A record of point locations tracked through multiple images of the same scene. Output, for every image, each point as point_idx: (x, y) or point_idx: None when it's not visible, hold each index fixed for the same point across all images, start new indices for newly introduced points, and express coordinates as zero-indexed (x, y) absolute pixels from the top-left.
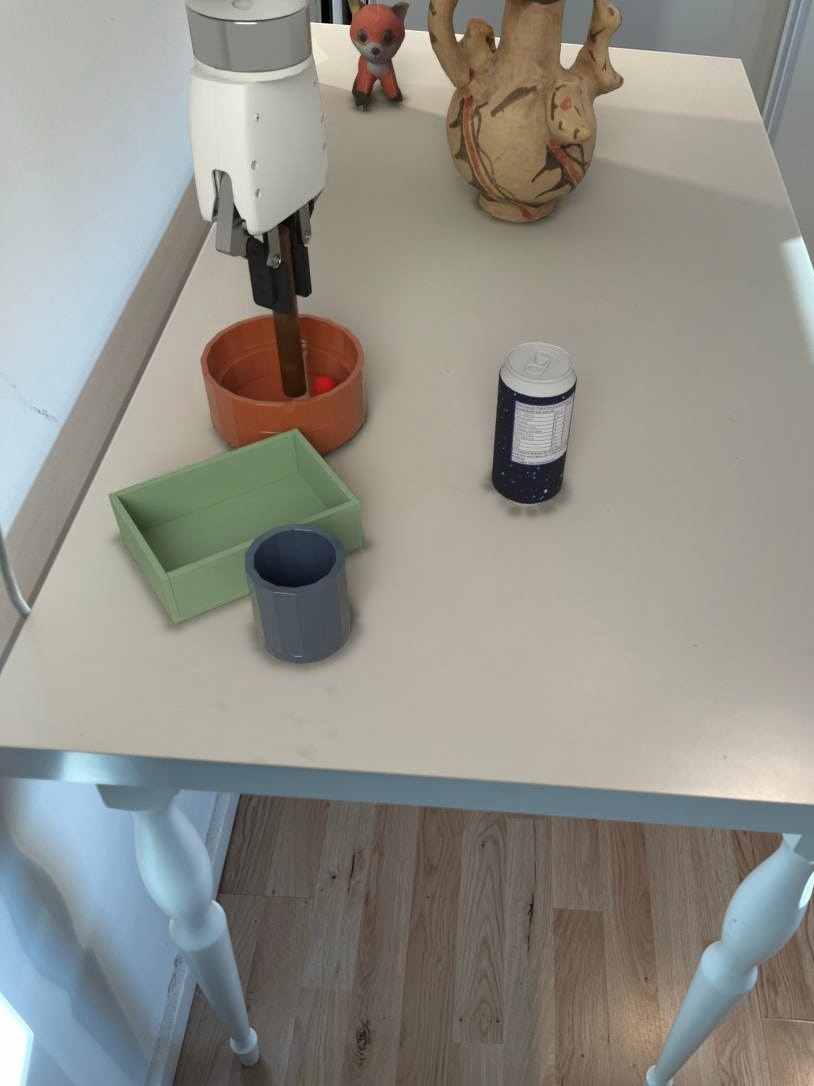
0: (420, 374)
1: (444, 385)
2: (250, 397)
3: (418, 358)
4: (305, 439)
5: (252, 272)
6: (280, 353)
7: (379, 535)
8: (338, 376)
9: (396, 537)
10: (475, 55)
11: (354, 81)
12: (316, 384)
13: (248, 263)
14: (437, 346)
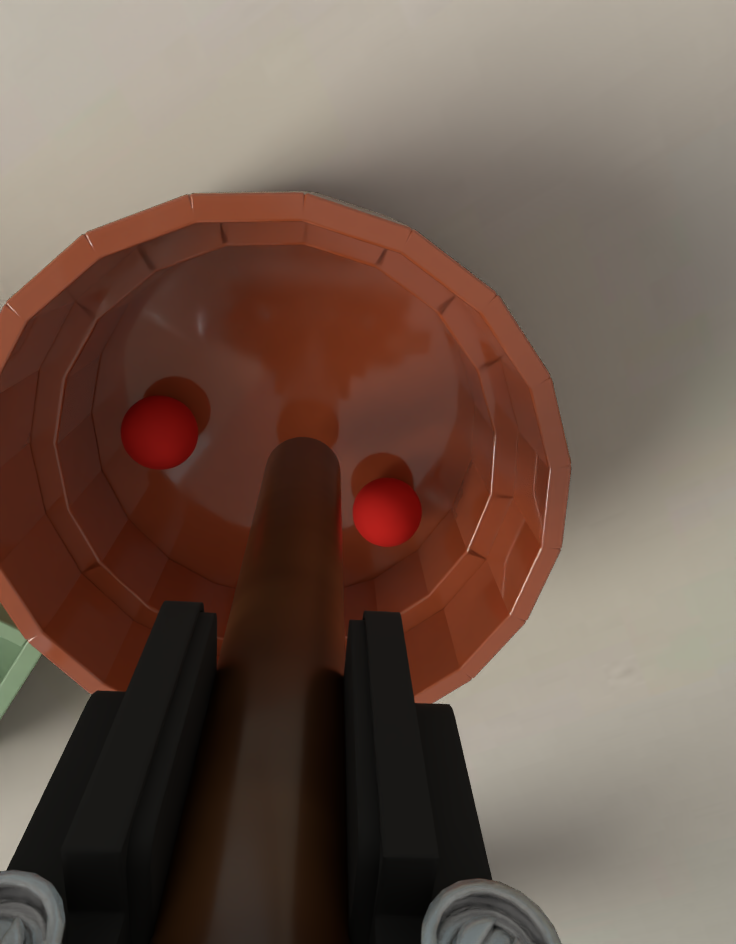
0: (595, 626)
1: (567, 686)
2: (285, 300)
3: (662, 597)
4: (20, 683)
5: (25, 835)
6: (249, 533)
7: (27, 762)
8: (459, 513)
9: (42, 787)
10: None
11: None
12: (365, 507)
13: (85, 790)
14: (728, 616)
